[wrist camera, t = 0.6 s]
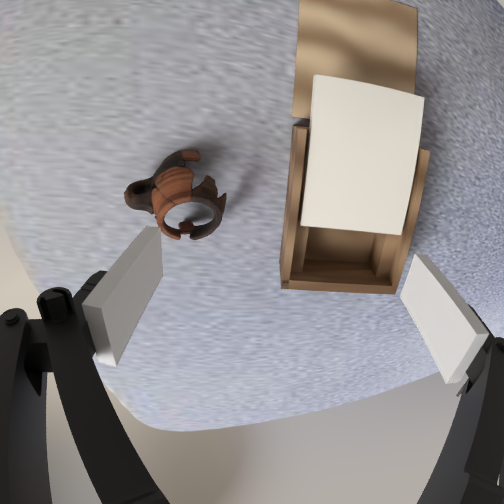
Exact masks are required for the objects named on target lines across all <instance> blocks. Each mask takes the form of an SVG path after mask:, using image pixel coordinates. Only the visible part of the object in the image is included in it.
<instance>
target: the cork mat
mask: <svg viewBox="0 0 504 504" xmlns="http://www.w3.org/2000/svg"><path fill="white" fill-rule="evenodd" d="M416 57H417V9H416V8H413V7H410V6H407V5H404V4H401V3H398V2H394V1H391V0H300V4H299V22H298V39H297V55H296V70H295V84H294V97H293V110H292V117H298V118H307V119H310V114H311V102H312V90H313V77H314V75H324V76H330V77H336V78H342V79H348V80H354V81H359V82H364V83H369V84H373V85H378V86H382V87H386V88H391V89H395V90H399V91H403V92H406V93H410V94H414V90H415V76H416Z"/></svg>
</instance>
